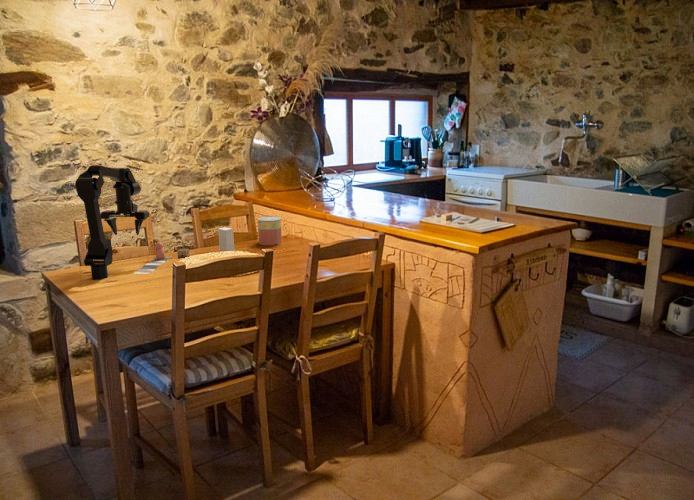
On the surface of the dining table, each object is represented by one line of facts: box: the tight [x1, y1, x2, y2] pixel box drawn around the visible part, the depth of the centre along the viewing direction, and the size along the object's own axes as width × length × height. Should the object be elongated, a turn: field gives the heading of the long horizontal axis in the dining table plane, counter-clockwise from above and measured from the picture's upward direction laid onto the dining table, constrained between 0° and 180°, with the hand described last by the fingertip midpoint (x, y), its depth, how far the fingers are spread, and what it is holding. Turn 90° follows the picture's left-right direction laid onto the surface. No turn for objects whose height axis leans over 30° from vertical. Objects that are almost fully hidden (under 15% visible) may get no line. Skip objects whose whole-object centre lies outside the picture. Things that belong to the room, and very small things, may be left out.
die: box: [177, 248, 190, 260], centre depth 252 cm, size 4×4×4 cm
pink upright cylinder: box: [154, 241, 166, 260], centre depth 246 cm, size 3×3×7 cm
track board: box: [132, 256, 173, 275], centre depth 238 cm, size 27×8×1 cm, turn 179°
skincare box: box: [217, 227, 235, 253], centre depth 257 cm, size 6×4×12 cm
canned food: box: [257, 216, 283, 246], centre depth 280 cm, size 11×11×12 cm
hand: (126, 235), depth 241 cm, fingers open, 9 cm apart
